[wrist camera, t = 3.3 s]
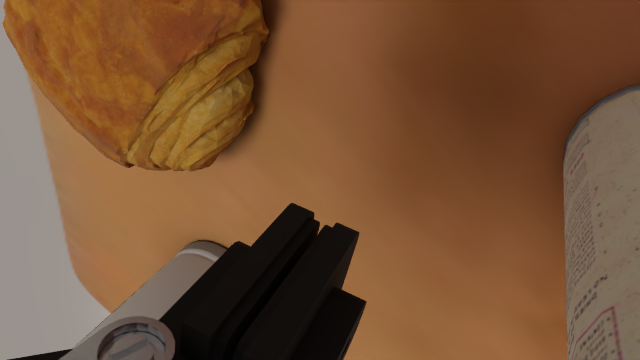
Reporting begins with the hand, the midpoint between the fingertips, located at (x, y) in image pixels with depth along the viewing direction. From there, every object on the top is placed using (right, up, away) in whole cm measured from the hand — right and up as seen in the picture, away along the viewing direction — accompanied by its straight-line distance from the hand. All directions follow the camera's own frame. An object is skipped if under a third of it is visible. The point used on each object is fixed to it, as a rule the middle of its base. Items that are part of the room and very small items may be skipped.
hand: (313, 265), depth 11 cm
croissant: (-8, +11, +17) cm, 22 cm away
